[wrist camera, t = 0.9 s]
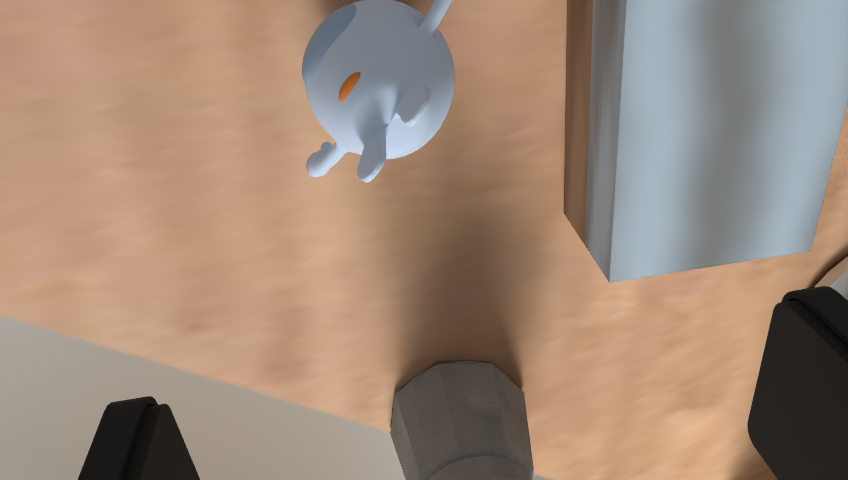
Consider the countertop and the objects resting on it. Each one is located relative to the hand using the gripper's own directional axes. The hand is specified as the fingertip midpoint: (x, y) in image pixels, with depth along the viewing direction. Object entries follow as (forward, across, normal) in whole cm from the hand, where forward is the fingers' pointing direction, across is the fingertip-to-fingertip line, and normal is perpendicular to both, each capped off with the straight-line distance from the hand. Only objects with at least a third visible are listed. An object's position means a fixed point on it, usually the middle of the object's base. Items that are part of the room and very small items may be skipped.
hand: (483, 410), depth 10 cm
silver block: (+24, -14, +4) cm, 28 cm away
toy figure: (+24, 0, +1) cm, 24 cm away
